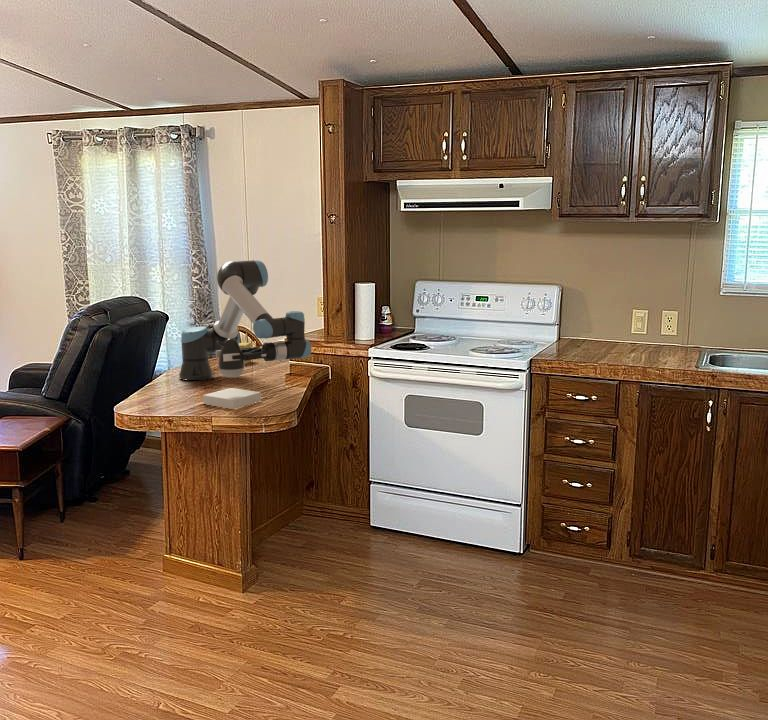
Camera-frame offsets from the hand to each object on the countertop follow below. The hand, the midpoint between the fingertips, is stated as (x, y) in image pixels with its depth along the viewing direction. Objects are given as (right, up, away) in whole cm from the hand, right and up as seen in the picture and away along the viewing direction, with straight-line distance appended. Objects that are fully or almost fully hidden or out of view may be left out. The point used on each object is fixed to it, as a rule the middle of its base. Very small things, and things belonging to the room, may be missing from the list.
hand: (219, 355), depth 315 cm
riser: (+4, -19, +6) cm, 20 cm away
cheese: (-10, -3, +94) cm, 95 cm away
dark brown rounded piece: (+4, -8, +4) cm, 10 cm away
